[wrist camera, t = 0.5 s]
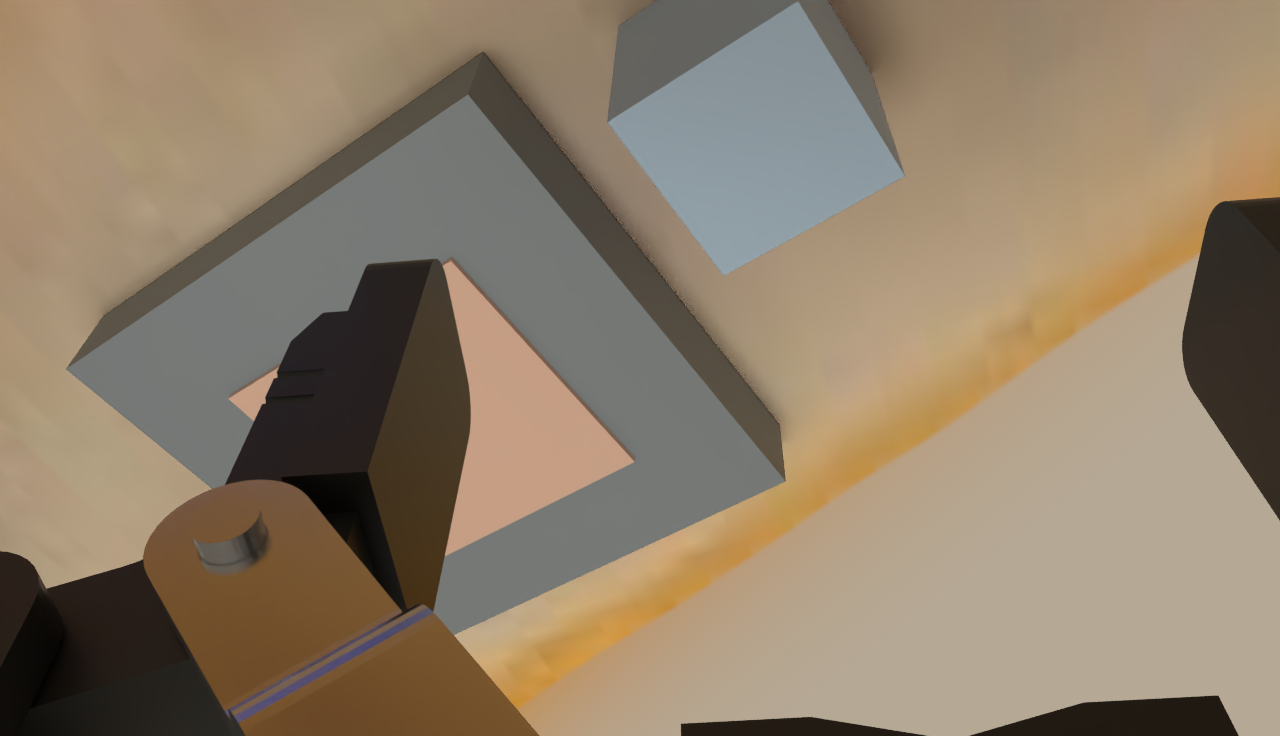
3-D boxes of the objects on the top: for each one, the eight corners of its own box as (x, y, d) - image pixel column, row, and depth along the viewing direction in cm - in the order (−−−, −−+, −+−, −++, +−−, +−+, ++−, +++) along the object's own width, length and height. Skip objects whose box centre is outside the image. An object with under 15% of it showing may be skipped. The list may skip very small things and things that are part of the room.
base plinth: (482, 52, 31) (466, 97, 29) (779, 425, 39) (786, 485, 37) (102, 316, 37) (63, 372, 35) (426, 596, 45) (412, 657, 43)
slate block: (778, -82, 29) (797, 1, 24) (871, 72, 32) (904, 175, 27) (618, 25, 31) (607, 122, 26) (717, 164, 33) (723, 275, 29)
